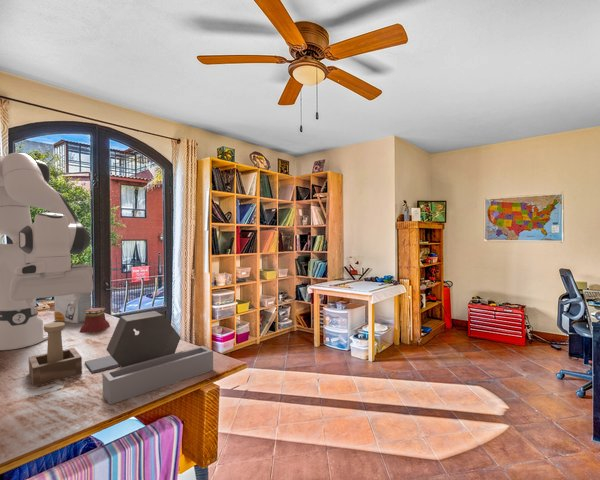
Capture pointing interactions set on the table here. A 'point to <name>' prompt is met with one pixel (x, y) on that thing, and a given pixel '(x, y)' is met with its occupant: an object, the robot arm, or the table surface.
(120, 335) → the planter
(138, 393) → the tray
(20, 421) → the table surface
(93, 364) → the mat
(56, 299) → the hard drive box
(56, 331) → the handle
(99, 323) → the red drawstring pouch
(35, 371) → the block
